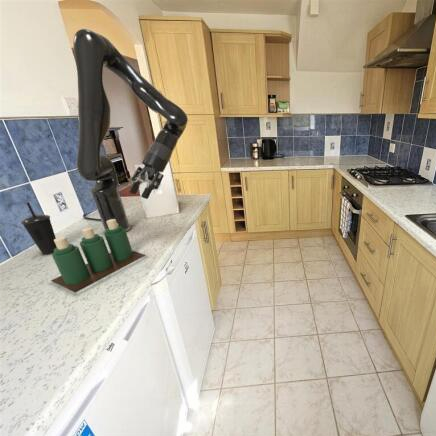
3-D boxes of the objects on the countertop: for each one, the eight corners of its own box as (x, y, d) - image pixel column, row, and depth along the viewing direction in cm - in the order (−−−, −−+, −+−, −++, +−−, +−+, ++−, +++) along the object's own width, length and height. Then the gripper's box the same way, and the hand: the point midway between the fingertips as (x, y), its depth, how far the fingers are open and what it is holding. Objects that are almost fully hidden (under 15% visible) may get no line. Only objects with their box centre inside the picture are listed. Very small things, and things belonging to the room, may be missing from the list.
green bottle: (109, 258, 86) (96, 222, 80) (126, 250, 91) (114, 216, 85) (120, 262, 83) (106, 225, 78) (136, 253, 88) (125, 218, 83)
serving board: (51, 283, 75) (50, 280, 75) (122, 249, 93) (121, 247, 93) (76, 295, 70) (75, 292, 69) (146, 257, 88) (146, 255, 87)
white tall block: (179, 212, 128) (168, 165, 118) (146, 218, 122) (132, 168, 112) (178, 202, 144) (169, 159, 134) (149, 206, 138) (137, 162, 129)
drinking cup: (68, 248, 96) (47, 200, 88) (45, 258, 89) (20, 207, 81) (56, 245, 98) (34, 198, 90) (32, 254, 91) (6, 205, 83)
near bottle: (61, 281, 74) (41, 241, 69) (83, 271, 79) (66, 232, 73) (71, 286, 72) (52, 245, 66) (94, 275, 77) (77, 236, 71)
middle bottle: (86, 269, 80) (70, 231, 74) (106, 260, 85) (92, 223, 79) (97, 273, 78) (81, 234, 72) (116, 264, 82) (102, 226, 77)
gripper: (138, 149, 92) (118, 187, 89) (160, 153, 85) (138, 195, 82) (156, 160, 98) (137, 196, 96) (177, 164, 91) (157, 203, 89)
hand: (137, 195), depth 89 cm, fingers open, 8 cm apart
